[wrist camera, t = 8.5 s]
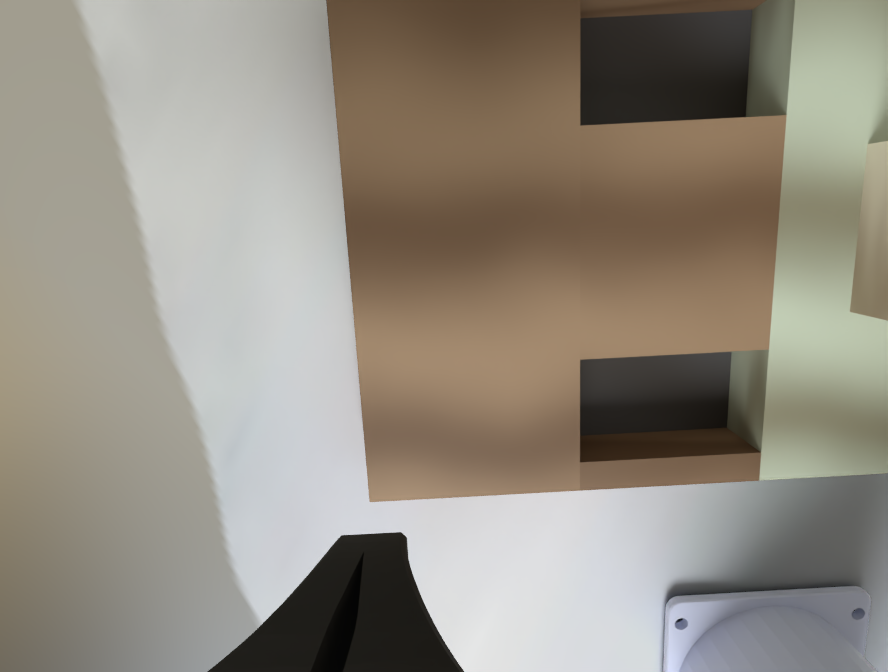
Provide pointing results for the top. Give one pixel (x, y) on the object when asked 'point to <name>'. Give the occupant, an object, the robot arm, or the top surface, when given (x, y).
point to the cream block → (872, 238)
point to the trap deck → (610, 240)
